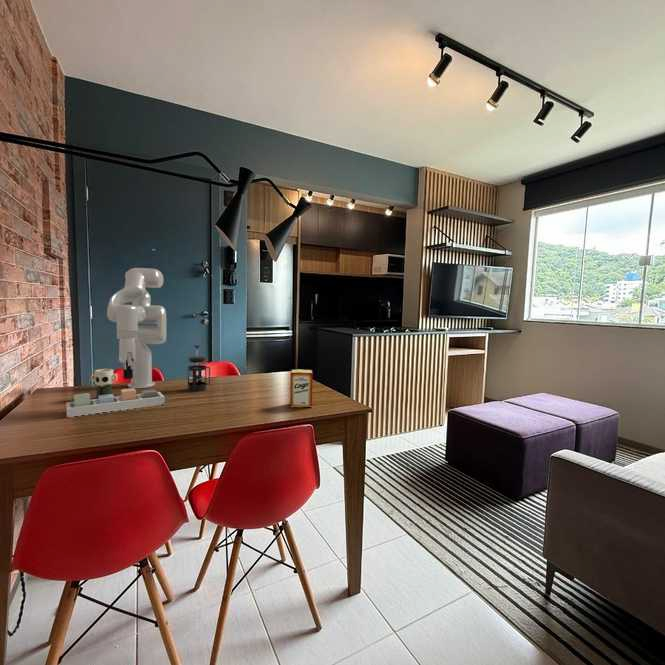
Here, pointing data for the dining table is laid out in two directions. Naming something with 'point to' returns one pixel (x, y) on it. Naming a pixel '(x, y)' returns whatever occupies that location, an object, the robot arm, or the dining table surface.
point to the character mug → (103, 381)
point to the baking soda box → (301, 387)
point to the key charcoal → (149, 393)
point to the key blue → (105, 399)
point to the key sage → (81, 399)
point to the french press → (198, 385)
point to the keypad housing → (113, 405)
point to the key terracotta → (128, 394)
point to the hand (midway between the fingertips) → (128, 378)
